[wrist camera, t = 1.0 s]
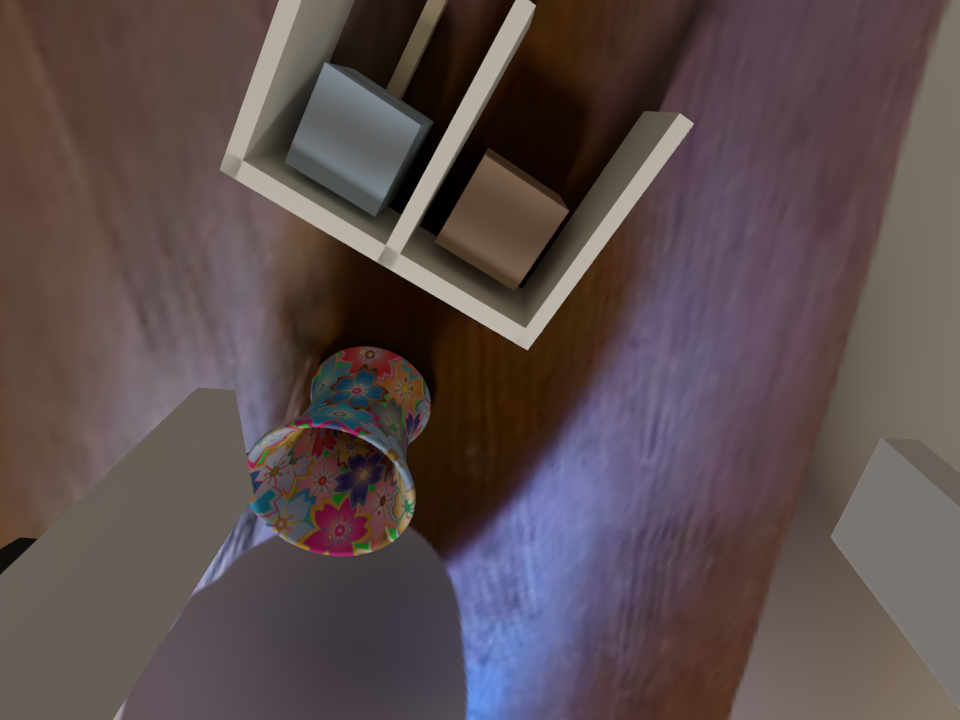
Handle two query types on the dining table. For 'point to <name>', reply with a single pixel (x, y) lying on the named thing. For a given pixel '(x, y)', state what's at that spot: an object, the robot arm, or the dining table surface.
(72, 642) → the robot arm
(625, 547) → the dining table surface
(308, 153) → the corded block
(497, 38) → the lane rack
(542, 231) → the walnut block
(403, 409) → the mug
